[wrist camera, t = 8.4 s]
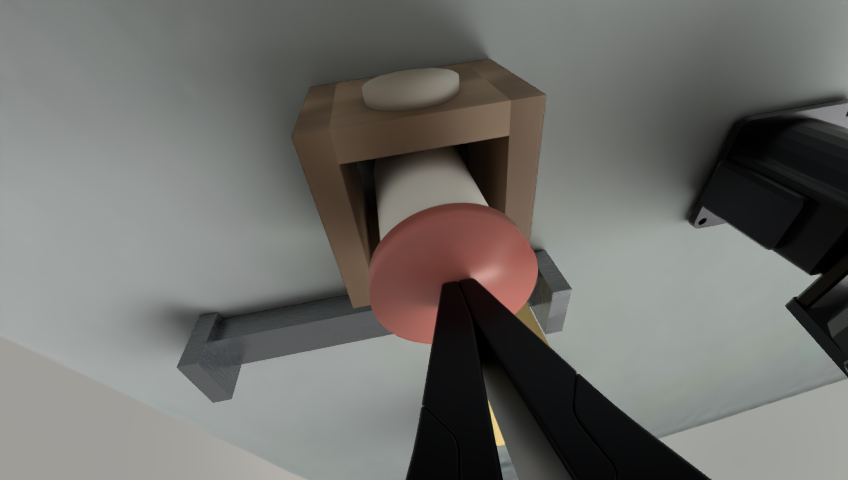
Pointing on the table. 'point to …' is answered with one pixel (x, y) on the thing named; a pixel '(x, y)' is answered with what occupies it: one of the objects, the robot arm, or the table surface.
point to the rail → (319, 331)
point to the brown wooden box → (416, 146)
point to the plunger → (439, 242)
